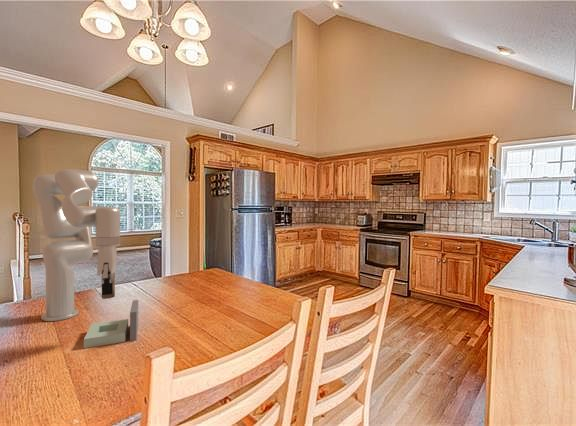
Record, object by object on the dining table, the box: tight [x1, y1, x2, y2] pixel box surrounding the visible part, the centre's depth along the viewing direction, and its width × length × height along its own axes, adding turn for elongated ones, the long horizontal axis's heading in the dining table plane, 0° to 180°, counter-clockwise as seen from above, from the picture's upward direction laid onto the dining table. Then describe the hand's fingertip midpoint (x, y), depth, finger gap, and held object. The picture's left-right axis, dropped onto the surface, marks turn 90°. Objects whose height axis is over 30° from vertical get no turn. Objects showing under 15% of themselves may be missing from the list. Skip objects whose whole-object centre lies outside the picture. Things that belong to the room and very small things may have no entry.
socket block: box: [83, 318, 129, 349], centre depth 106 cm, size 14×12×3 cm
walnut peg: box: [101, 271, 116, 300], centre depth 106 cm, size 4×4×10 cm
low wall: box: [129, 299, 139, 342], centre depth 110 cm, size 14×2×10 cm, turn 24°
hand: (108, 292), depth 106 cm, fingers closed on walnut peg, 4 cm apart
